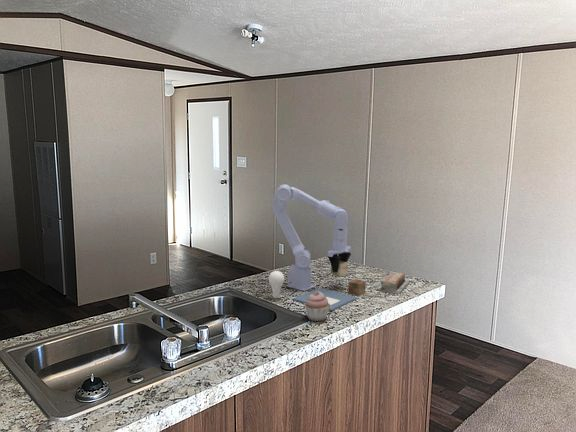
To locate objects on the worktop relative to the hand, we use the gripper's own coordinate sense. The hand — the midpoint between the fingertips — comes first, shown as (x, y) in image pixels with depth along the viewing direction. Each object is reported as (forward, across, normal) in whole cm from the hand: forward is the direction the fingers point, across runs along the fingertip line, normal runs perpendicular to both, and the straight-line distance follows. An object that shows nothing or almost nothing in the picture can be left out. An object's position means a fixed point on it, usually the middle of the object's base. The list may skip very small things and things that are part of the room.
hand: (338, 270), depth 199 cm
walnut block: (+8, 0, -9) cm, 12 cm away
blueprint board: (+8, -15, -4) cm, 17 cm away
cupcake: (+8, -33, -13) cm, 36 cm away
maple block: (+2, 0, 0) cm, 2 cm away
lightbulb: (+8, -27, +11) cm, 30 cm away
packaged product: (+8, +19, -16) cm, 26 cm away
